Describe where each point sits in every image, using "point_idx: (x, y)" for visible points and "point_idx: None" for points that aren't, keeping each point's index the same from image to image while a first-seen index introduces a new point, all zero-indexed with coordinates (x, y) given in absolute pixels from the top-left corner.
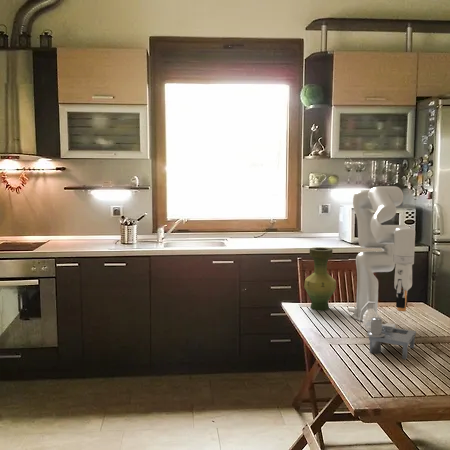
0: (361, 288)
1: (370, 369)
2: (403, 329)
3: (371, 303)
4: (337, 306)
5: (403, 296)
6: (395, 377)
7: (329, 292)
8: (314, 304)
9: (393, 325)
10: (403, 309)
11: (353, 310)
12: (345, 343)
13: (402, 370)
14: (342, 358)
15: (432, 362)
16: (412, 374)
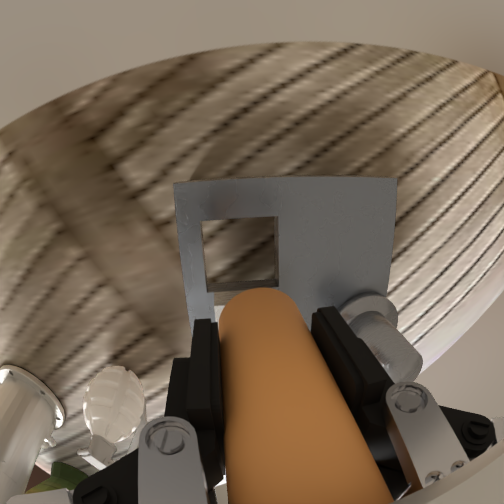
0: (23, 484)
1: (460, 252)
2: (188, 253)
3: (100, 458)
4: None
5: (430, 401)
6: (478, 181)
7: None
8: None
9: None
10: (298, 309)
11: (49, 437)
12: None
13: (441, 171)
14: (416, 338)
15: (331, 82)
16: (451, 140)
